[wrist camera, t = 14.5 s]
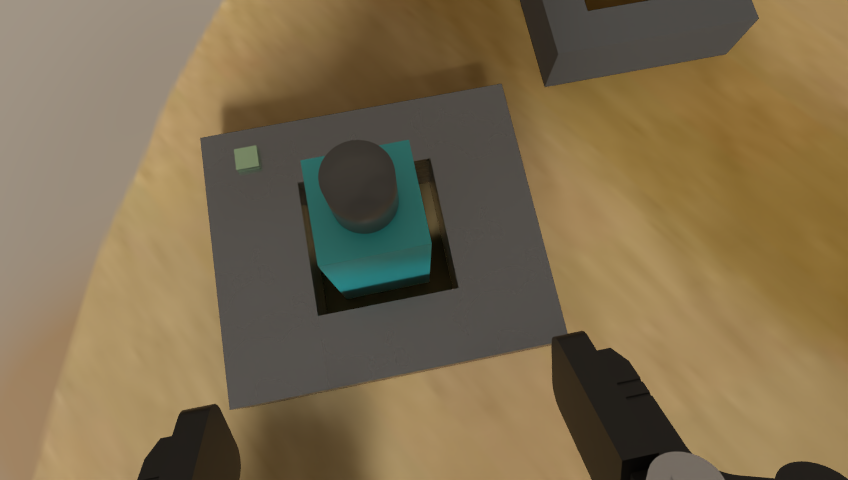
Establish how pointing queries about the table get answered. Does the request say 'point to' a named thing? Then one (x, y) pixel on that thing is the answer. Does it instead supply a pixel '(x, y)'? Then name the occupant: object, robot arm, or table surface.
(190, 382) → the table surface
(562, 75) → the holster
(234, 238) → the port block
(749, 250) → the table surface
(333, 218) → the plug
